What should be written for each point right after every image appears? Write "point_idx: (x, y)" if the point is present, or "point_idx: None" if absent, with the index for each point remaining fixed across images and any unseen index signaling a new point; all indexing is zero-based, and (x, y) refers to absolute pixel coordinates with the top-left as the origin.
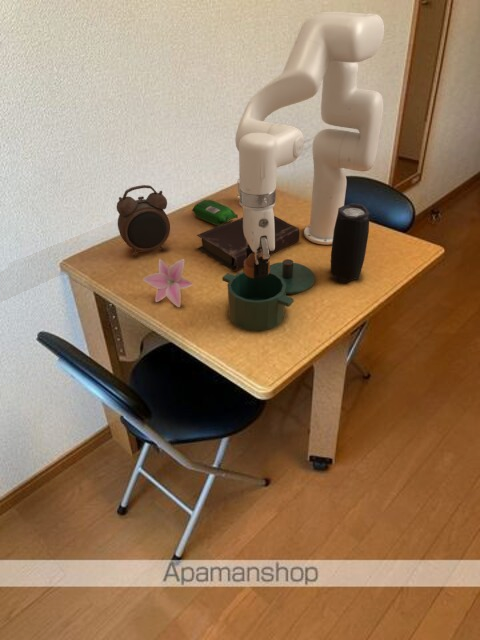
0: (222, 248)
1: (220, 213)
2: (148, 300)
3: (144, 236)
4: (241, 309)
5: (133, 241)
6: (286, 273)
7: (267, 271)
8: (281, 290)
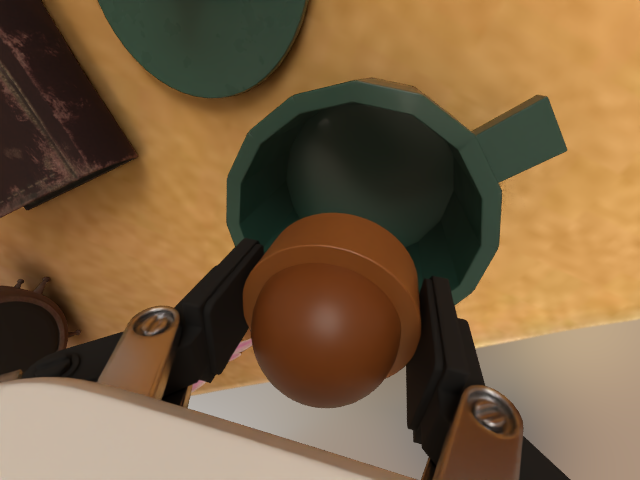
0: (38, 186)
1: None
2: (231, 361)
3: (25, 354)
4: None
5: None
6: None
7: (452, 307)
8: (456, 146)
